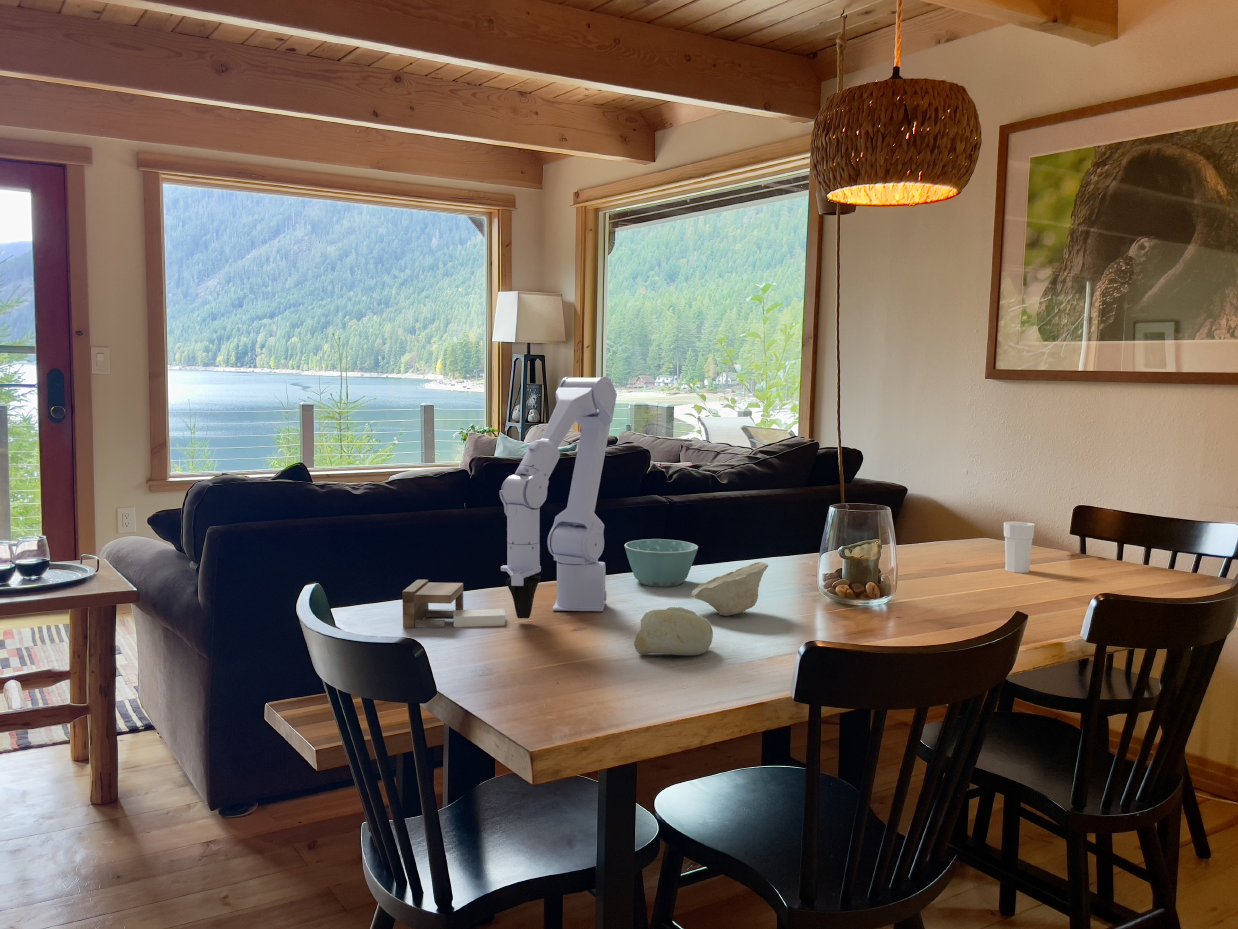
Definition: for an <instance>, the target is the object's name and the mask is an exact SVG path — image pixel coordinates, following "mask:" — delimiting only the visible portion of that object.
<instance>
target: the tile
mask: <svg viewBox="0 0 1238 929" xmlns="http://www.w3.org/2000/svg"><path fill="white" fill-rule="evenodd" d="M488 626H490V627H491V626H495V627H496V626H506V611H505V608H489V609H488V608H486V609H482V608H481V609H463V610H455V609H454V617H453V627H454V628H455V627H456V628H460V627H461V628H463V627H465V628H466V627H488Z"/></svg>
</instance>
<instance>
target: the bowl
mask: <svg viewBox="0 0 1238 929" xmlns="http://www.w3.org/2000/svg"><path fill="white" fill-rule="evenodd" d="M698 548H699V546H698V545H697V544H695V543H693V542H688V541H683V540H677V539H676V540H675V539H664V538H663V539H662V538H651V539H639V540H631V541H628V542H626V543H625V544H624V549H625V553H626V556H627V559H628V562H629V565H630V568H631V570H632V571H631V572H632V573H633V576H634V578H635V579H636V580H637V581H638V582H639V583H640V584H642V585H644V586H650V587H656V588H657V587H658V588H660V587H661V588H666V587H667V588H668V587H676V586H678V585H681V584H682V583H683V582H684V581H686V579H687V578H688V576H689V574H690V570H691V568H692V565H693V563H694V561H695V558H696V555H697V553H698Z"/></svg>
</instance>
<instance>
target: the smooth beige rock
mask: <svg viewBox="0 0 1238 929" xmlns="http://www.w3.org/2000/svg"><path fill="white" fill-rule="evenodd" d="M639 628H640V630H639V631H638V632H637V633H636V635H635V638H634V639H635V640H634V648H635V651H636V652H637V654H638V655H640V656H645V655H648V654H662V655H677V656H699V655H702V654H704V653H705V652H707V651H708V650H709V648H710V646H711V645H712V642H713V638H714V633H713V632H714V631H713V627H712V625H711V623H710V621H709V620H708V619H707V618H705V617H700V616H699V615H698V614H697V613H696V612H695V611H693V610H690V609H687V608H684V607H680V606H679V607H676V606H669V607H667V608H666V609H653V610H648V611H647V612H645V613H644V614H643V616H642V618H641V619H640V626H639Z"/></svg>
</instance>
